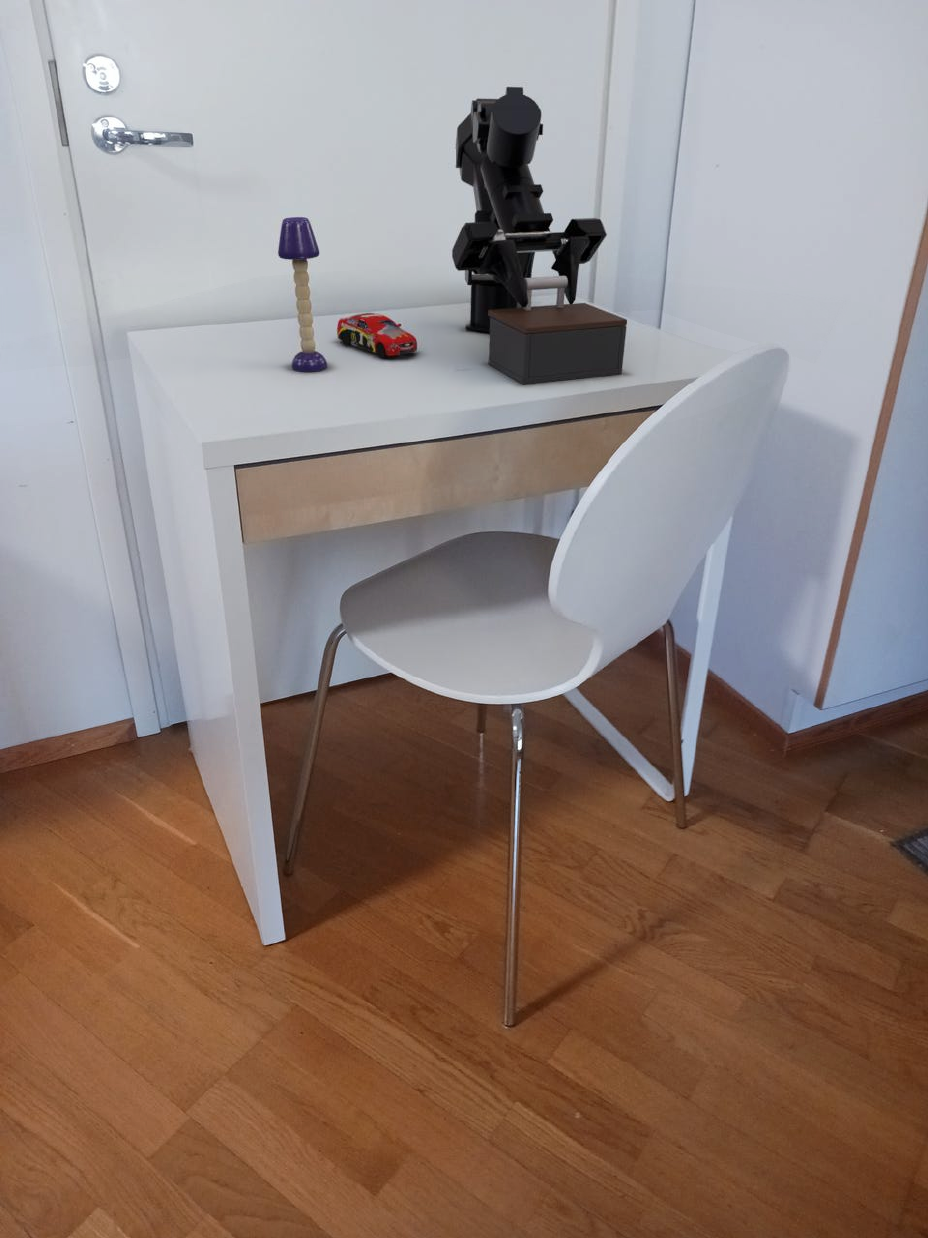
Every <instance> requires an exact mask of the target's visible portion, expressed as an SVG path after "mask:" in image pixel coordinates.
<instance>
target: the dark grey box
mask: <svg viewBox="0 0 928 1238" xmlns="http://www.w3.org/2000/svg"><path fill="white" fill-rule="evenodd" d="M626 336H627V325H625V326H614V327H602V328H590V329H578V330H566V331H554V332H542V333H531V334H525V333H523V332H521V331H519V330H517V329H515V328H513V327H511V326H509V325H507V324H505V323H503V322H501V321H498V320H496V319H494V318H492V317H490V332H489V344H488V345H489V347H488V348H489V349H488V365H489V366H490V367H492V368H494V369H496V370H498V371H499V372H501V373H503V374H504V375H506V376H508V377H510V378H511V379H513V380H514V381H516V382H518V383H520V384H522V385H531V384H540V383H550V382H559V381H560V382H561V381H568V380H579V379H587V378H598V377H607V376H616V375H622V374H623V364H624V354H625V345H626Z"/></svg>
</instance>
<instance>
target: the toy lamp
mask: <svg viewBox="0 0 928 1238" xmlns="http://www.w3.org/2000/svg"><path fill="white" fill-rule="evenodd" d="M277 250H278V251H277V255H278V257H279V258H280V259H282V260H290V261H291V266H292V269H293V271H294V272H293V282H294V285H295V287H294V294H295V297H296V302H295V308H296V310H297V312H298V313H297V323H298V325H299V329H298V334H299V337H300V349H301V351H300V352H297V353H296V354H295V355H294V357H293V358H292V361H291V369H292V370H294V371H297V372H304V373H305V372H306V373H307V372H308V373H312V372H313V373H314V372H320V371H323V370H325V369H327V367H328V363H327V360H326V358H325V356H324V355H323V354H322V353H321V352H319V351H317V350H316V341H315V339H314V338H315V330H314V327H313V323H314V317H313V314H312V301H311V299H310V297H311V288H310V286H309V284H310V283H309V282H310V276H309V273H308V268H309V264H308V263H309V261H308V260H310V259H311V260H312V259H315V258H318V257H319V256H320V249H319V245H318V241H317V239H316V236H315V233H314V230H313V226H312V224H311V221H310V219H309V218H308V217H303V216H295V217H294V216H293V217H286V218H283V219H282V221H281V226H280V233H279V242H278V249H277Z"/></svg>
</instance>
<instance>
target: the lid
mask: <svg viewBox="0 0 928 1238" xmlns="http://www.w3.org/2000/svg"><path fill="white" fill-rule="evenodd" d="M524 281H525V285H526V289H527V296H528V304H527V306H526V307H521V308H507V309H494V310H488V316H490V317H492V318H494V319H496V320H498V321H501V322H503V323H505V324H507V325H509V326H511V327H513V328H515V329H517V330H519V331H521V332H523V333H525V334H531V333H542V332H554V331H566V330H578V329H590V328H602V327H614V326H627V324H628V319H627V318H624V317H622V316H619V315H617V314H614V313H611V312H609V311H606V310H603V309H601V308H598V307H596V306H594V305H592V304H588V303H586V302H578V303H577V302H576V303H573V304H569V303H565V293H564V292H565V288H566V287H567V284H568V280H567V277H566V276H559V275H553V276H539V277H538V276H536V277H531V278H524ZM555 289H556V304H552V305H537V306H532V294H533V291H538V290H555ZM564 303H565V304H564Z"/></svg>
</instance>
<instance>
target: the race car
mask: <svg viewBox="0 0 928 1238" xmlns="http://www.w3.org/2000/svg"><path fill="white" fill-rule="evenodd" d="M401 327H402V324H401V323H396V322H395V321H394V320H392V319H391V318H390V317H388V316H386V315H383V314H380V313H374V312H367V313H359V314H354V315H351V316H350V315H349V316H347V317H341V318H340V319H339V320H338V321H337V327H336V334H337V335H336V336H337V339H338V340H339V341H341V342H342V344H343V345H344V346H346V347H349V346H354V347H357V348H360V349H362V350H366V351H369V352H371V353H374V354H377V356H378V357H379V358H380V359H385V358H389V356H403V355H409V354H413V353H416V352H417V350H418V340H417V338H416V336H414V335H413V334H412V333H410V332H408V331H407V330H404V329H403V328H401Z"/></svg>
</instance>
